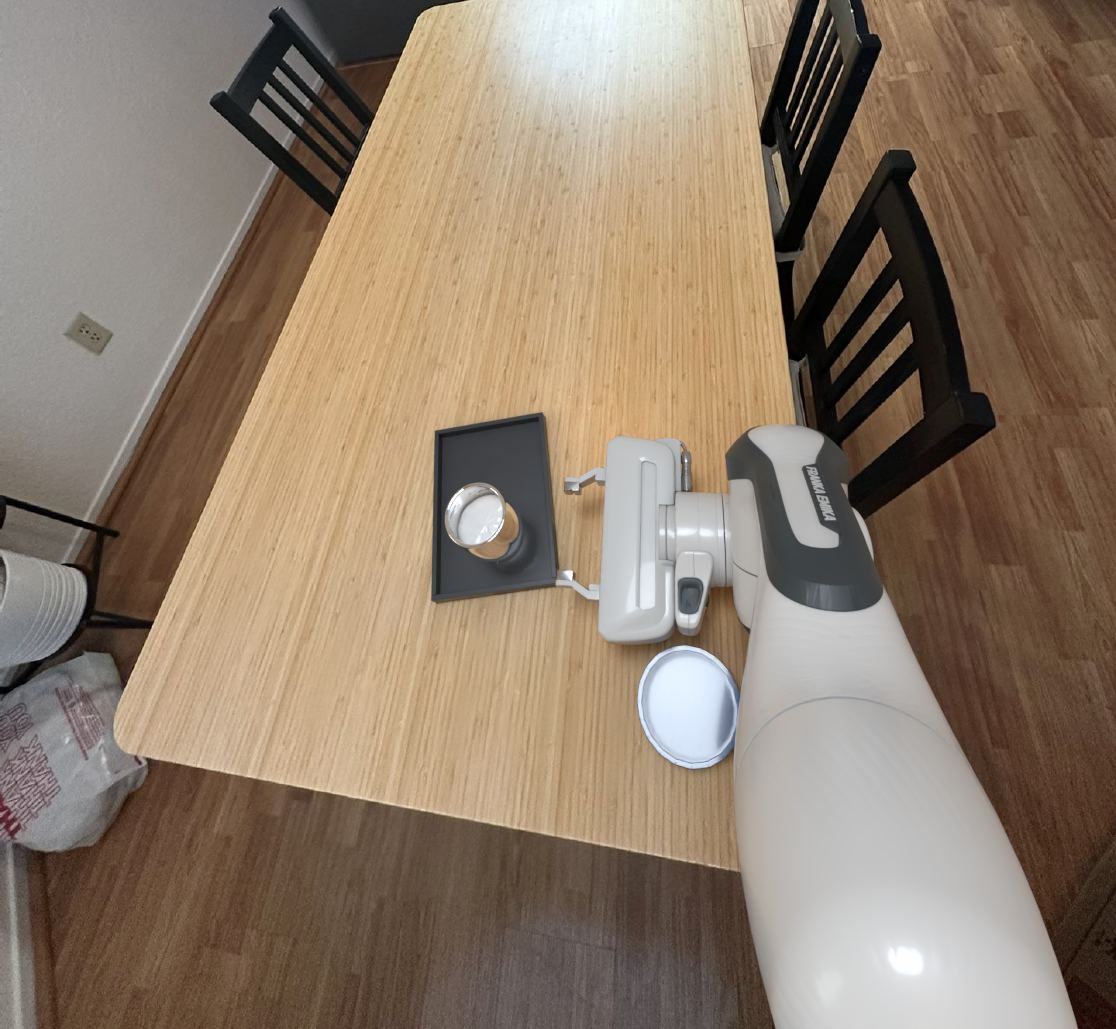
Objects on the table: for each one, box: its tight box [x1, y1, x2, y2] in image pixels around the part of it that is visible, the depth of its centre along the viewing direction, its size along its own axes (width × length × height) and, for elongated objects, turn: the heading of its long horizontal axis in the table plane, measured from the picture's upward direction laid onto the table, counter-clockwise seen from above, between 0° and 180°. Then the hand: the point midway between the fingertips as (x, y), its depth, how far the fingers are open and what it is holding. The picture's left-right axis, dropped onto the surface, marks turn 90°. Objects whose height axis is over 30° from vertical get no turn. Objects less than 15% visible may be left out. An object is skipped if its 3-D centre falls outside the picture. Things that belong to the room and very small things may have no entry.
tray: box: [430, 411, 560, 604], centre depth 80 cm, size 21×15×2 cm
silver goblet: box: [445, 483, 536, 573], centre depth 71 cm, size 7×7×15 cm
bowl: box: [636, 644, 741, 771], centre depth 63 cm, size 10×10×4 cm
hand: (560, 530), depth 67 cm, fingers open, 8 cm apart
